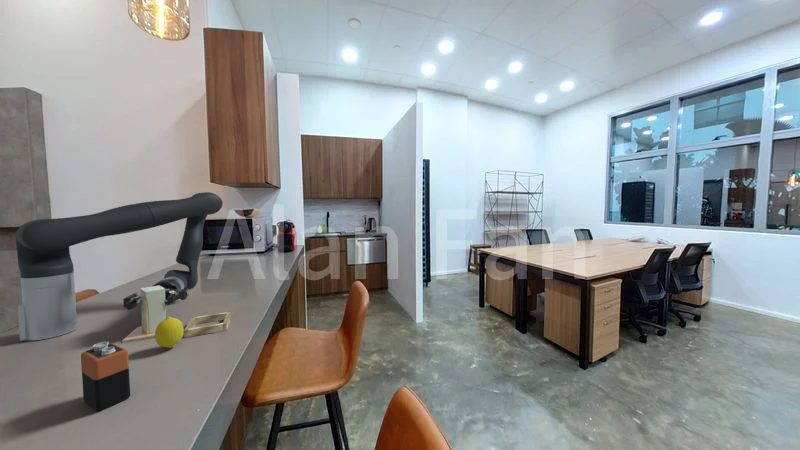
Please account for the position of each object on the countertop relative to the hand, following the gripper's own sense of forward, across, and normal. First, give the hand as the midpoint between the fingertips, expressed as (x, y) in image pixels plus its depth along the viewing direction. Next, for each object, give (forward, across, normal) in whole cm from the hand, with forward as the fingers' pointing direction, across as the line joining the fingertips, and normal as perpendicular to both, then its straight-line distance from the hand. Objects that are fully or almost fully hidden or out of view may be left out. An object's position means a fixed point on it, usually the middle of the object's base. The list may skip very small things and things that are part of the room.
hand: (149, 303), depth 76 cm
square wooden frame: (+2, +14, +9) cm, 17 cm away
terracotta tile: (-2, 0, +9) cm, 9 cm away
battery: (+32, +3, +9) cm, 33 cm away
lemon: (+13, +8, +9) cm, 18 cm away
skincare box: (-2, 0, +8) cm, 9 cm away
